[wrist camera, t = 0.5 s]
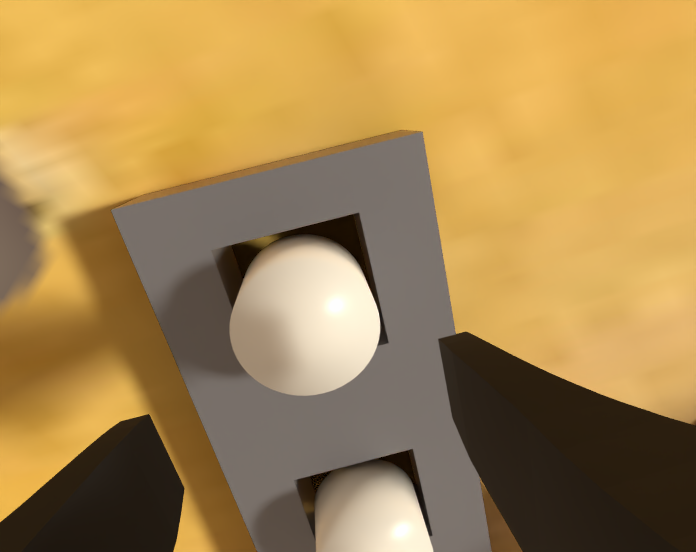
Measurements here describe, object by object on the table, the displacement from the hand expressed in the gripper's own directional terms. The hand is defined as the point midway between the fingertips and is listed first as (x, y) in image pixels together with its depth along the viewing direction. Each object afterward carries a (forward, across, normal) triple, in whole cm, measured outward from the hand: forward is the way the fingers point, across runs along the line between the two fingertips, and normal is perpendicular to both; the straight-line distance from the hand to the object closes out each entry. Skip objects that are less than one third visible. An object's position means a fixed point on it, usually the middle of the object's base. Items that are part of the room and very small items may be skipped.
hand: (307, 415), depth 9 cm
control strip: (+9, 0, +10) cm, 14 cm away
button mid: (+7, 0, +10) cm, 12 cm away
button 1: (+7, 0, 0) cm, 7 cm away
